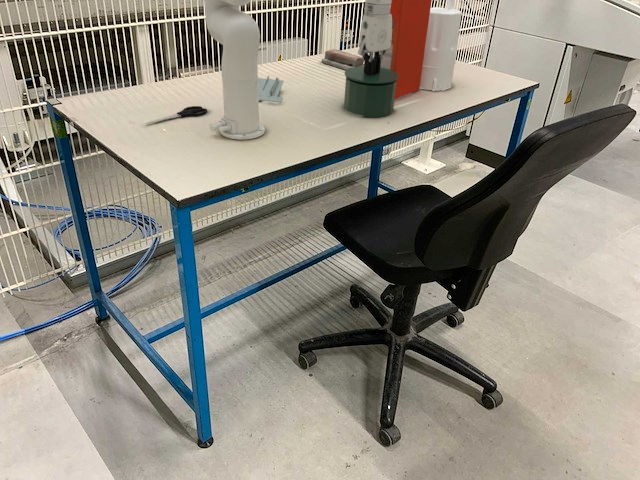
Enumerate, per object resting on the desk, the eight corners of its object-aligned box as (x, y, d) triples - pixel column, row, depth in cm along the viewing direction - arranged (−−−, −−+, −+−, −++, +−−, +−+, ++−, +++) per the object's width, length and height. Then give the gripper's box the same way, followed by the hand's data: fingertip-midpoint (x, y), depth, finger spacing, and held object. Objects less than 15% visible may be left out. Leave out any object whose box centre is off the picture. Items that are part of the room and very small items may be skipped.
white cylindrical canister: (437, 93, 183) (455, -11, 165) (402, 83, 191) (414, -17, 173) (458, 84, 193) (477, -15, 175) (423, 75, 201) (438, -20, 182)
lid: (373, 89, 151) (375, 69, 148) (333, 75, 161) (334, 56, 158) (408, 79, 161) (411, 60, 158) (369, 67, 171) (371, 48, 168)
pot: (369, 121, 158) (372, 89, 152) (333, 107, 167) (335, 76, 161) (402, 110, 167) (406, 79, 161) (366, 98, 176) (369, 68, 170)
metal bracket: (247, 70, 176) (290, 75, 174) (249, 85, 181) (291, 90, 178) (234, 95, 167) (279, 99, 165) (236, 110, 172) (280, 115, 169)
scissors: (153, 129, 146) (210, 113, 158) (153, 126, 145) (210, 110, 158) (140, 122, 149) (197, 107, 162) (139, 119, 149) (197, 104, 161)
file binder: (372, 95, 178) (382, -6, 160) (400, 85, 189) (412, -11, 171) (391, 101, 174) (404, -3, 156) (419, 90, 185) (433, -8, 167)
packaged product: (320, 50, 207) (337, 47, 214) (320, 62, 210) (337, 59, 216) (354, 60, 197) (371, 56, 203) (353, 73, 200) (370, 68, 206)
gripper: (368, 14, 143) (362, 80, 154) (405, 8, 153) (397, 71, 163) (348, 9, 148) (344, 74, 158) (386, 4, 157) (379, 66, 167)
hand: (371, 72), depth 160 cm, fingers closed on lid, 2 cm apart
